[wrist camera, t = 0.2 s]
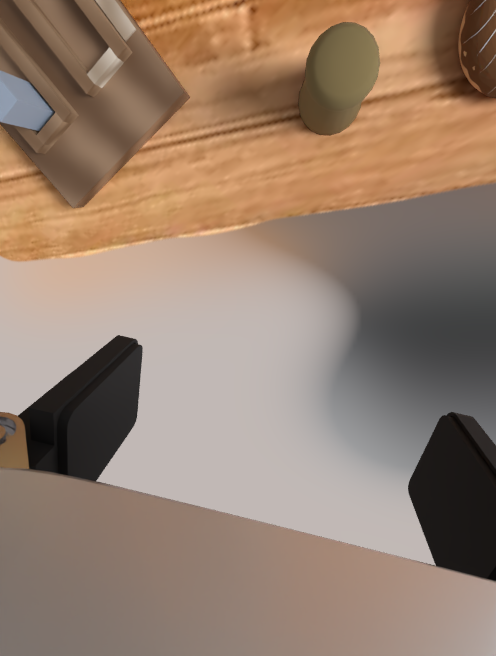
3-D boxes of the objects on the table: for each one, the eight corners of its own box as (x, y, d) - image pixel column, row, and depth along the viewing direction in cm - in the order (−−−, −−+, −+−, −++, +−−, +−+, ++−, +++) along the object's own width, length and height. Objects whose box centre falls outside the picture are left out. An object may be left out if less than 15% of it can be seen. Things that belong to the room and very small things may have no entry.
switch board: (-28, -206, 29) (-67, -254, 26) (190, 97, 35) (179, 88, 32) (-120, -30, 35) (-162, -52, 31) (83, 207, 41) (65, 208, 38)
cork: (323, 149, 36) (334, 132, 25) (285, 97, 34) (281, 58, 24) (375, 102, 34) (409, 64, 23) (337, 46, 32) (356, -21, 22)
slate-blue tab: (33, 84, 35) (-12, 65, 29) (57, 113, 35) (17, 100, 30) (18, 103, 35) (-28, 89, 30) (42, 131, 36) (0, 122, 31)
